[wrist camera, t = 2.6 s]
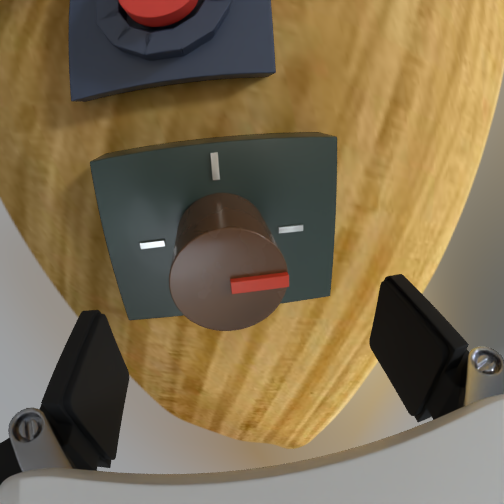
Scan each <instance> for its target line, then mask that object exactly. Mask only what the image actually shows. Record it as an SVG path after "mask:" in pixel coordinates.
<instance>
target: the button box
mask: <svg viewBox="0 0 504 504" xmlns="http://www.w3.org/2000/svg"><path fill="white" fill-rule="evenodd" d="M275 72H276V69H275V53H274V38H273V23H272V10H271V0H198V2H197V4H196V6H195V8H194V9H193V10H192V11H191V12H190V14H188V15H187V16H186V17H185V18H183V19H182V20H180V21H178V22H176V23H174V24H171V25H168V26H163V27H148V26H144V25H141V24H139V23H137V22H135V21H134V20H133V19H132V18H131V17H130V16H129V15H128V14H127V13H126V11H125V10H124V9H123V8H122V6H121V5H120V3H119V1H118V0H70V8H69V74H70V90H71V101H83V102H86V101H90V100H94V99H98V98H102V97H106V96H111V95H115V94H120V93H125V92H130V91H135V90H140V89H146V88H152V87H158V86H165V85H172V84H179V83H187V82H196V81H206V80H217V79H231V78H251V77H268V76H270V75H272V74H274V73H275Z"/></svg>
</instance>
